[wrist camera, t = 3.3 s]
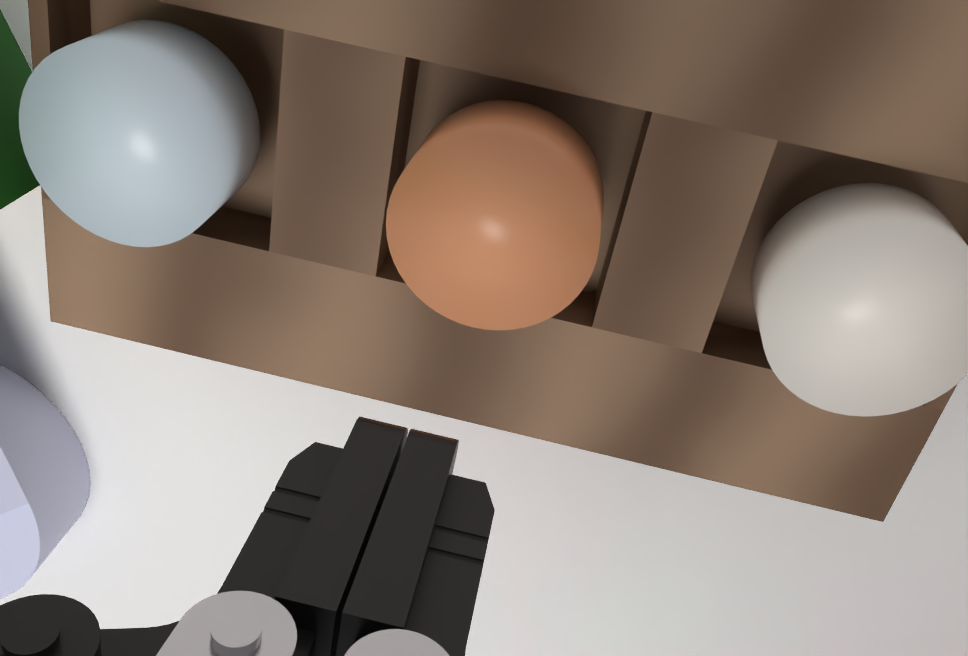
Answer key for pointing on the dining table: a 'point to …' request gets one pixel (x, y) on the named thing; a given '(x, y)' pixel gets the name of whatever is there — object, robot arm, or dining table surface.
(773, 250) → the white button
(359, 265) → the brown slotted panel
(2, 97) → the hardback book
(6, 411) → the tape dispenser
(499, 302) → the terracotta button
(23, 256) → the dining table surface
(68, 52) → the pale blue button
